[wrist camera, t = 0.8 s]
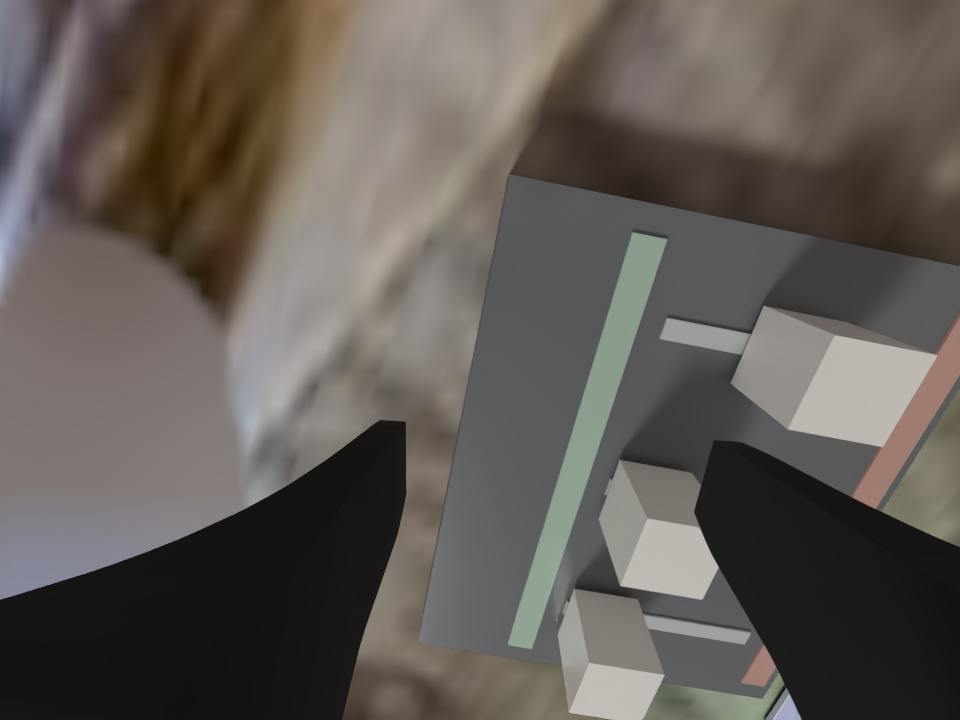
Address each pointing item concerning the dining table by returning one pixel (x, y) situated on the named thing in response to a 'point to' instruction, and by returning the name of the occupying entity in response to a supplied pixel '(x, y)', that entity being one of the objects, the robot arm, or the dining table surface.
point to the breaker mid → (656, 531)
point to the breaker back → (608, 657)
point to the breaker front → (829, 376)
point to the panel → (646, 408)
